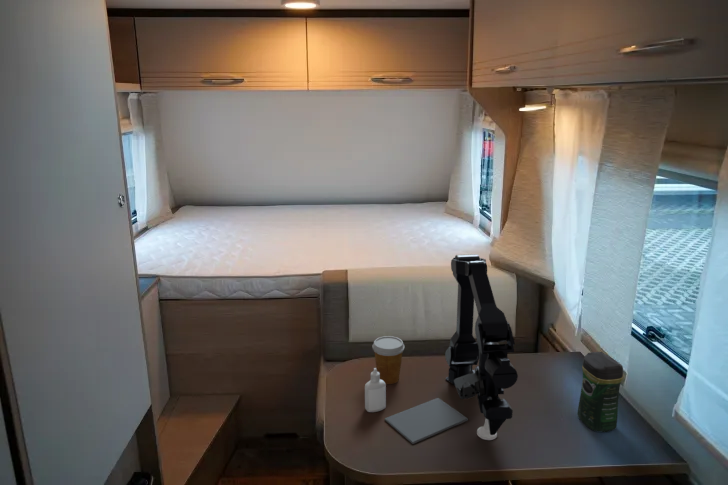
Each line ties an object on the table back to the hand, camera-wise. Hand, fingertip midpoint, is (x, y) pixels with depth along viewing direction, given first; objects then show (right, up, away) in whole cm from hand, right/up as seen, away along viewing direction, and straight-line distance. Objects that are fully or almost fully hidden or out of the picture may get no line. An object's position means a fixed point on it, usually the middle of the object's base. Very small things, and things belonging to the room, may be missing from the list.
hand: (487, 423), depth 135 cm
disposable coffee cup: (-23, +4, +28) cm, 36 cm away
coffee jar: (+29, -2, +5) cm, 30 cm away
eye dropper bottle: (-28, 0, +12) cm, 30 cm away
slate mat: (-15, -1, +7) cm, 16 cm away
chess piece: (0, -3, +1) cm, 3 cm away
